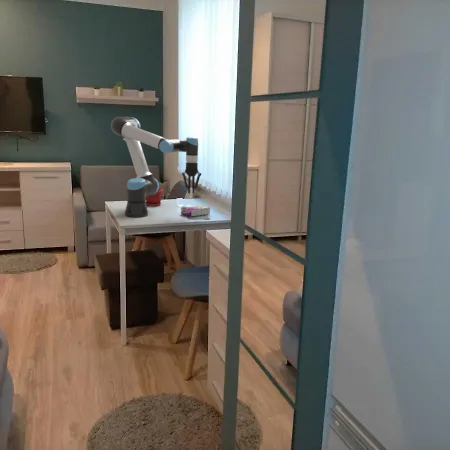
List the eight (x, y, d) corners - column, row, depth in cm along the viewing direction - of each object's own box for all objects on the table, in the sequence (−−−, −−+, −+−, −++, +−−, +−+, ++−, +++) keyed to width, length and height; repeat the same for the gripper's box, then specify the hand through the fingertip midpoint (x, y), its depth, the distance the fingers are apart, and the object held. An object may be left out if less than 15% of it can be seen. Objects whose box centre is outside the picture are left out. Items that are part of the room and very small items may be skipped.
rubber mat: (190, 219, 280) (190, 218, 280) (187, 215, 292) (187, 214, 292) (210, 219, 283) (210, 218, 283) (206, 215, 295) (206, 214, 295)
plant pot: (150, 207, 310) (150, 190, 308) (141, 204, 320) (141, 188, 317) (166, 205, 319) (166, 189, 316) (156, 202, 328) (156, 186, 326)
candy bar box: (180, 206, 291) (199, 205, 303) (180, 214, 292) (199, 212, 304) (191, 209, 284) (210, 207, 295) (191, 216, 284) (210, 214, 296)
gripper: (182, 162, 274) (181, 199, 279) (202, 162, 276) (201, 199, 282) (180, 161, 281) (180, 197, 286) (200, 161, 284) (199, 197, 289)
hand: (190, 198), depth 284 cm, fingers closed
